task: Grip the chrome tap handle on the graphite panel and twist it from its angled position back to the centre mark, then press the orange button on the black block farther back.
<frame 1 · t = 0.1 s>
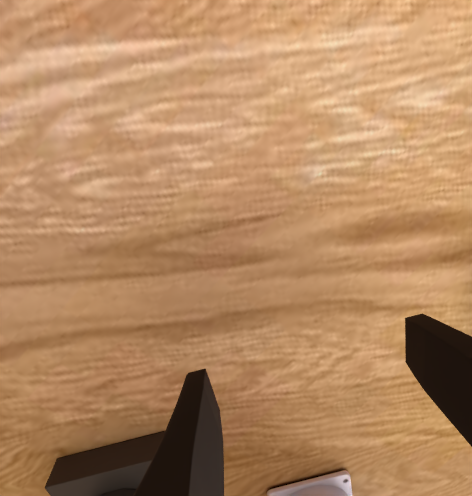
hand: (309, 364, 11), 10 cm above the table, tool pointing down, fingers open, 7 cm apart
button block: (134, 485, 28), on the table
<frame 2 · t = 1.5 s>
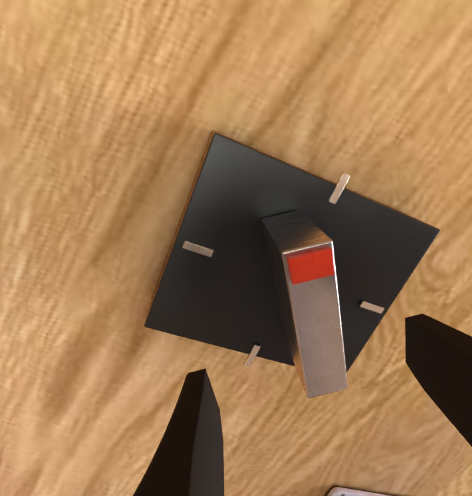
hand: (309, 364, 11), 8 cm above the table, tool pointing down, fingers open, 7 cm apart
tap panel: (277, 255, 18), on the table
tap handle: (304, 302, 14), point 5 cm above the table, hinge at -55.0°
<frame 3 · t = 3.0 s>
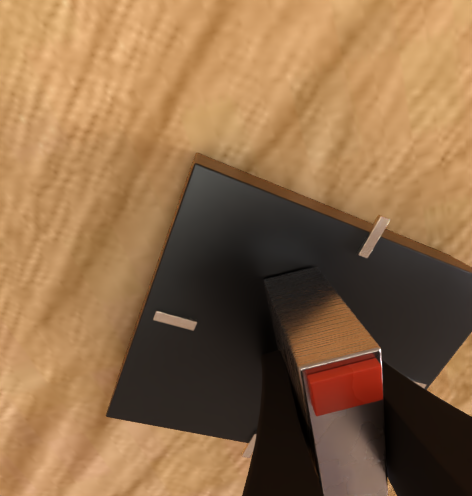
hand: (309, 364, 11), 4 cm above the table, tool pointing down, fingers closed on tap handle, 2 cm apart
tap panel: (283, 308, 14), on the table
tap handle: (325, 401, 10), point 5 cm above the table, hinge at -55.1°, touching gripper
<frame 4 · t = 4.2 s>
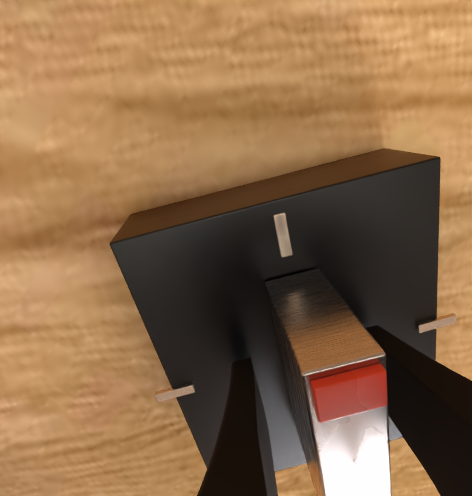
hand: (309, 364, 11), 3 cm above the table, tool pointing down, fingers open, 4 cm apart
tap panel: (284, 310, 14), on the table
tap handle: (327, 406, 9), point 5 cm above the table, hinge at -0.7°
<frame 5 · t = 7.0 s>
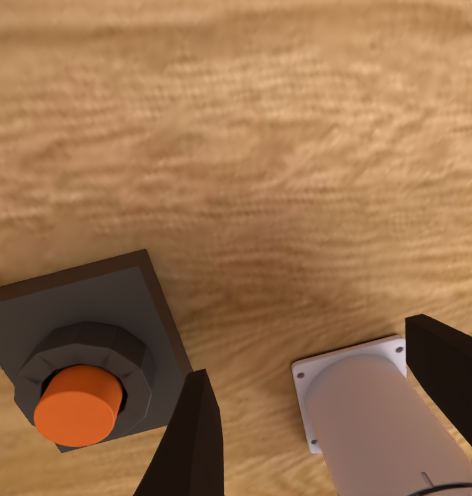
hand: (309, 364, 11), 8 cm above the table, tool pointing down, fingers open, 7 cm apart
button block: (106, 344, 20), on the table
button: (81, 405, 15), point 4 cm above the table, slide at 0.1 cm
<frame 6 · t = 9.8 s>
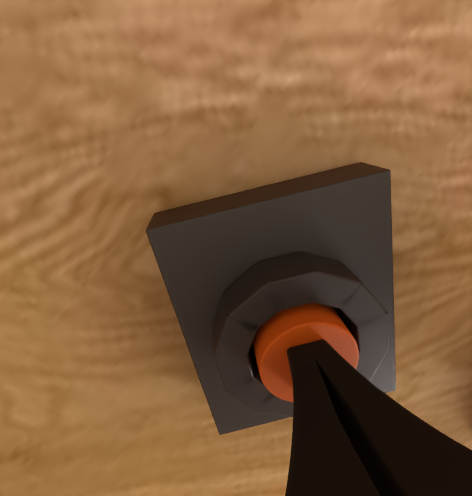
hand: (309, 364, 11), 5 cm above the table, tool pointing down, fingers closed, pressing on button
button block: (279, 296, 15), on the table
button: (302, 348, 12), point 4 cm above the table, slide at -0.6 cm, touching gripper
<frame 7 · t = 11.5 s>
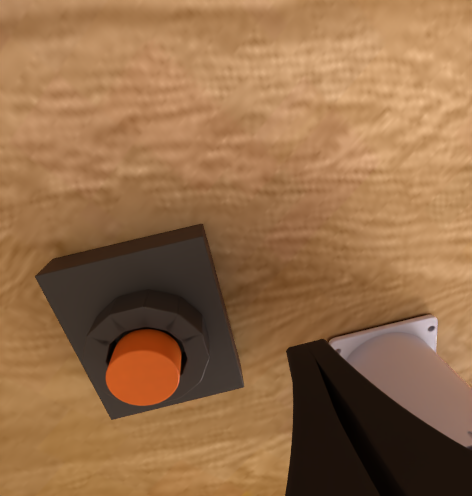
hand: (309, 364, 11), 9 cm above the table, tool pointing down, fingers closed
button block: (156, 316, 20), on the table
button: (145, 366, 16), point 4 cm above the table, slide at 0.1 cm
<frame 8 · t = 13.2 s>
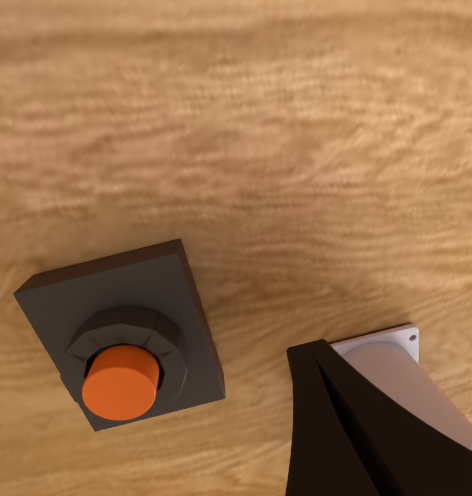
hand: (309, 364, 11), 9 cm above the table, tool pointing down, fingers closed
button block: (138, 329, 21), on the table
button: (122, 382, 17), point 4 cm above the table, slide at 0.1 cm
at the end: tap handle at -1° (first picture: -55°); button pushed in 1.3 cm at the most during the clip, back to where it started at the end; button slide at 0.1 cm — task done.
